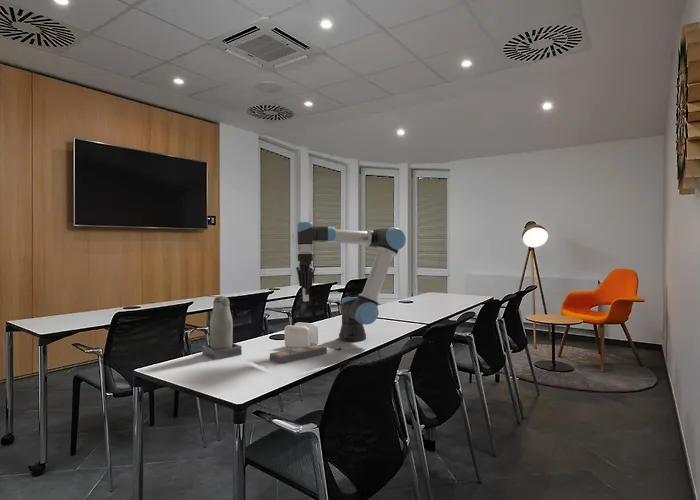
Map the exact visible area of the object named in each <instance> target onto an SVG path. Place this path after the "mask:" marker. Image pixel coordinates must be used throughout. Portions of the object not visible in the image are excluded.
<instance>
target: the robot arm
mask: <svg viewBox="0 0 700 500" xmlns="http://www.w3.org/2000/svg"><path fill="white" fill-rule="evenodd" d="M296 229H297V230H296V232H297V233H296V235H297V262H299V264H298V266H297V267H295V268H296V269H295V270H296V272H297V273H296V274H297V278H298V286H299V287H301V290H302V292H301V293H302V302H310V288H311V287H313V282H314V275H315V270H316V268H315V267H313V266H312V262H313V261H314V254H313V253H314V243H315V242H316V243H317V242H318V243H332V244H333V243H335V244H348V245H349V244H351V245H364V246H365V247H366V248H367V247H369V248H376V250H377V253H376V255H375V258H374V262H373V263H372V266H371V269H370V272H369V274H368V277H367V280H366V282H365V285H364V287H363V290H362V292H361V293H359V294H358V295H357V296H353V297H343V298H342V299H341V304H340V306H341V327H340V330H339V333H338V340H340V341H344V342H361V341H365V340H366V339H367V333H366V331H365V327H364V325H371V324H373V323H374V322H375V321H376V320H377V319H378V317H379V313H380V311H379V308H378V306H379V303H380V302H379V300H378V298H379V294H380V292H381V289H382V287H383V284H384V282H385V280H386V277H387V274H388V272H389V269H390V266H391V263H392V261H393V259H394V257H397V255H398V253H399V251H400V250H401V249H402V248H403V247H404V246H405V244H406V240H407V238H406V235H405V233H404V231H403V230H402V229H401V228H398V227H392V226H391V227H383V228H376V229H366V230H356V229H355V230H354V229H353V230H352V229H344V228H343V229H341V228H336V227H334V226H329V225H326V226H325V225H324V226H323V225H322V226H318V225H316V226H315V225H313V222H310V221H299V222H298V223H297V227H296Z"/></svg>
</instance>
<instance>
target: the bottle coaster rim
mask: <svg viewBox="0 0 700 500" xmlns="http://www.w3.org/2000/svg"><path fill="white" fill-rule="evenodd" d="M201 348H202V353H201V354H202V355H203V356H205V357H206V358H207V357H208V358H210V359H211V360H214V361H215V360H220V359H221V360H222V359H225V358H231V357H236V356H241V355H242V350H243V348H242V345H240V344H236V343H234V342H233V343H232V348H226V349H221V350H213V349H211V345H210V344H206V345H202V347H201Z"/></svg>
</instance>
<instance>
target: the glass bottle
mask: <svg viewBox="0 0 700 500" xmlns="http://www.w3.org/2000/svg"><path fill="white" fill-rule="evenodd" d="M212 304H213V307H212V313H211V316H210V320H209V333H210V334H209V337H210V341H209V343H210V344H209V345H211V349H213V350H221V349H226V348H232V343H234V342H233V338H234V337H233V334H234V333H233V331H234V329H233V328H234V322H233V317H232V312H231V307H230V304H231V303H230V299H229V298H228V297H227V296H224V295H223V296H222V295H221V296H217V297H215V298H214V299H213V303H212Z"/></svg>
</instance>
